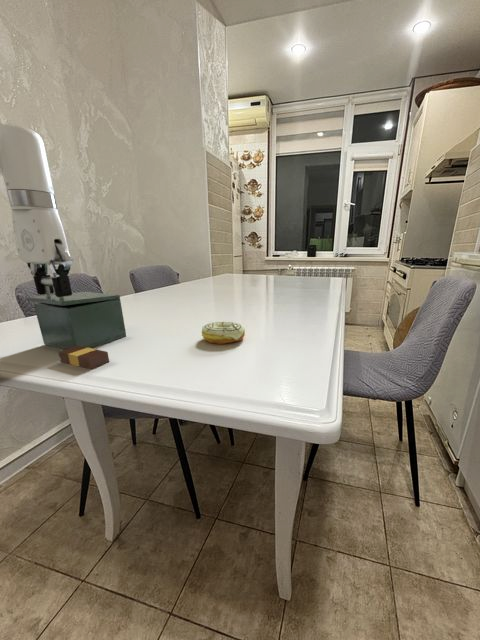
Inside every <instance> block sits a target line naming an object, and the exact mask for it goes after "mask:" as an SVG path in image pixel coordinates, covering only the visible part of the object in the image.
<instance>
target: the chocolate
mask: <svg viewBox="0 0 480 640" xmlns="http://www.w3.org/2000/svg"><path fill="white" fill-rule="evenodd" d="M58 357H59V360H60V362H61V363H65V364H67V365H71V366H76V367H79V368H85V369H87V370H93V369H95V368H97V367H99V366H103V365H106V364H107V363H109V362H110V357H109V353H108V351H105V350H101V349H96V348H94V347H93V348H87V347H82V346H75V347H72V348H69V349H62V350H60V351H58Z"/></svg>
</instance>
